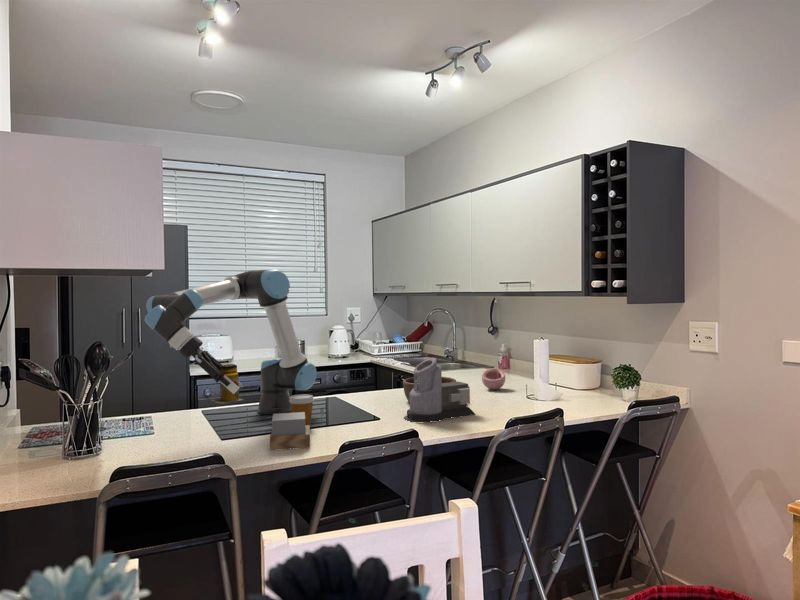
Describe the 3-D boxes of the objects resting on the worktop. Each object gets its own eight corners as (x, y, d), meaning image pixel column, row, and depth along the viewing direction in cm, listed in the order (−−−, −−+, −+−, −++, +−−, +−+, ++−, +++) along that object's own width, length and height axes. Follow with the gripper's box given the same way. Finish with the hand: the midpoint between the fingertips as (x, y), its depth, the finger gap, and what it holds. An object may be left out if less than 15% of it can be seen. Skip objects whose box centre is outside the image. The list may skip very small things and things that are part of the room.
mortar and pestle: (481, 391, 281) (481, 369, 281) (482, 387, 293) (481, 366, 292) (505, 392, 279) (505, 369, 279) (505, 387, 291) (504, 366, 290)
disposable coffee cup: (305, 423, 220) (304, 393, 220) (319, 427, 213) (318, 396, 213) (284, 427, 213) (284, 396, 213) (298, 431, 207) (298, 399, 206)
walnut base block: (270, 451, 183) (269, 436, 183) (273, 441, 196) (272, 427, 196) (309, 449, 185) (309, 434, 185) (310, 438, 198) (309, 425, 198)
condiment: (243, 400, 187) (242, 364, 187) (220, 404, 181) (219, 367, 181) (233, 397, 192) (232, 363, 192) (210, 401, 187) (209, 365, 186)
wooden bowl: (422, 394, 276) (422, 374, 275) (466, 400, 261) (466, 378, 261) (392, 403, 255) (392, 381, 255) (438, 409, 241) (438, 386, 240)
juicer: (416, 425, 214) (415, 362, 214) (397, 417, 228) (396, 358, 228) (479, 415, 228) (478, 356, 228) (457, 408, 242) (456, 353, 242)
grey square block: (272, 435, 184) (271, 420, 184) (273, 427, 195) (273, 413, 195) (305, 433, 186) (305, 418, 186) (305, 425, 197) (304, 411, 197)
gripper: (184, 348, 194) (234, 392, 197) (171, 355, 175) (225, 403, 178) (200, 332, 195) (249, 376, 198) (187, 337, 176) (242, 386, 179)
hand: (238, 389), depth 188 cm, fingers closed on condiment, 6 cm apart
